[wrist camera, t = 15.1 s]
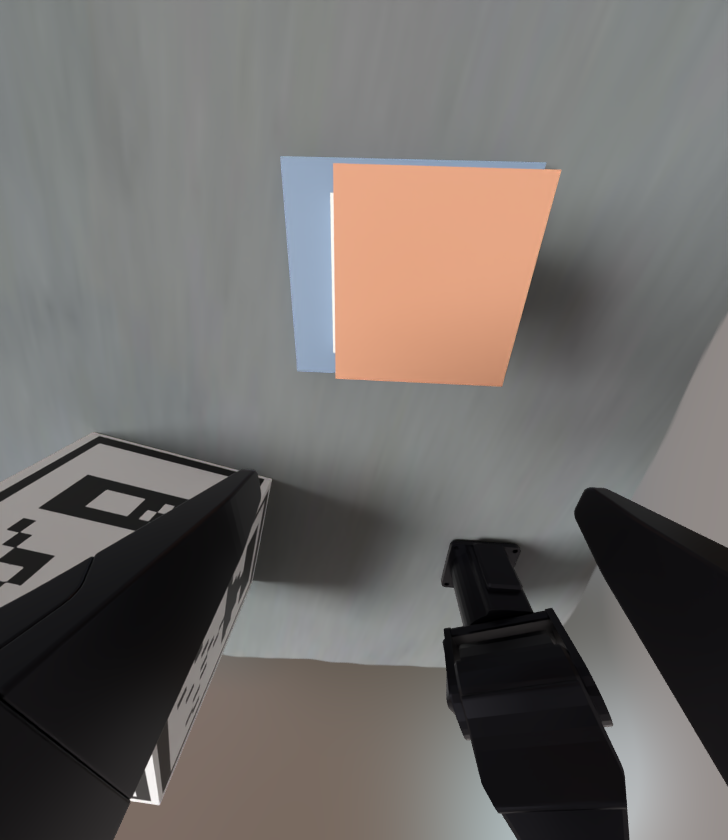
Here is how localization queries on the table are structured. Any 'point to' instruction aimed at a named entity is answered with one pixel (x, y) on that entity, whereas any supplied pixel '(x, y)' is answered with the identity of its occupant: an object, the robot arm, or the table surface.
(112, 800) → the robot arm
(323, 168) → the board
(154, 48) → the table surface
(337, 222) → the terracotta cube
